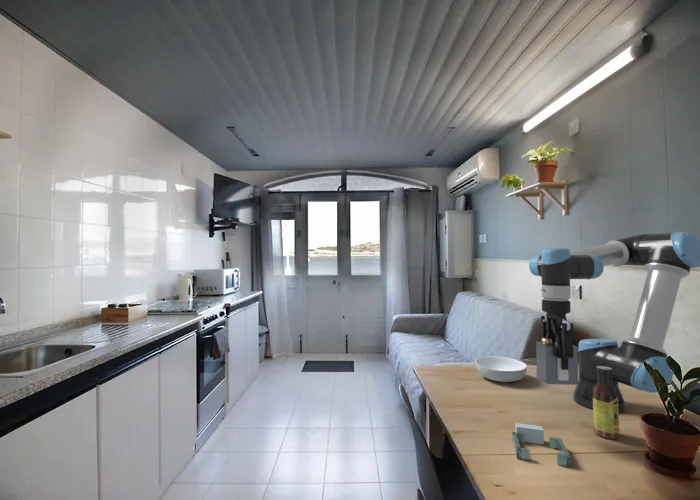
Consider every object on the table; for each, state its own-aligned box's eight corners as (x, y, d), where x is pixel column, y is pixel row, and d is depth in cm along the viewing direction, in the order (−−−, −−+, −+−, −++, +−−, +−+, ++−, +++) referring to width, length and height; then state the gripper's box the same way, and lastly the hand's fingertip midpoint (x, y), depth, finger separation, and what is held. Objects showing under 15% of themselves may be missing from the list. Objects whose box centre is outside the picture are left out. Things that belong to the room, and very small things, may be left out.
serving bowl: (471, 370, 165) (470, 355, 165) (517, 371, 162) (517, 357, 162) (481, 386, 144) (481, 369, 144) (535, 388, 141) (534, 371, 141)
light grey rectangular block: (541, 440, 101) (541, 426, 102) (543, 444, 99) (543, 430, 99) (515, 436, 104) (515, 423, 104) (516, 440, 101) (516, 426, 101)
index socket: (561, 447, 98) (560, 438, 98) (571, 467, 88) (571, 457, 89) (512, 440, 101) (512, 431, 101) (517, 458, 92) (517, 449, 92)
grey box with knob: (566, 377, 108) (565, 336, 108) (578, 384, 102) (577, 341, 102) (536, 377, 108) (536, 336, 109) (546, 384, 102) (545, 341, 103)
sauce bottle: (620, 442, 100) (619, 372, 100) (594, 436, 103) (592, 369, 104) (617, 432, 106) (616, 366, 106) (592, 427, 109) (591, 363, 109)
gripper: (528, 295, 115) (529, 366, 115) (560, 303, 96) (561, 387, 96) (551, 295, 115) (552, 366, 115) (588, 303, 96) (589, 388, 96)
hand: (556, 375), depth 105 cm, fingers closed on grey box with knob, 6 cm apart
